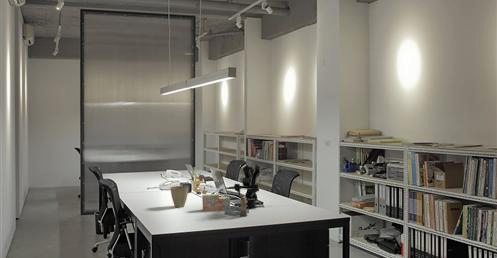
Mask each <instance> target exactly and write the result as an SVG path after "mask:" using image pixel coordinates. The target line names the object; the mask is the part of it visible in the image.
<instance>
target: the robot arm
mask: <svg viewBox="0 0 497 258" xmlns="http://www.w3.org/2000/svg"><path fill="white" fill-rule="evenodd" d="M242 173H243V176H244V177H242V182H241V183H242V185H240V183H235V184H234V185H233V188H234V191H236V192H237V194H238V197H240V198H241V189H245V190H246V192H245V196H244V197H246V209H251V210H252V209H257V208H258V207H257V206H256V201H258V195H257V193H258V192H260V186H259V184H257V181H258V178H259V177H260V174H261V173H262V169H261V166H260V165H258V163H256V162H251V163H250V165H247V164H246V165H245V166H244V167H243V168H242Z"/></svg>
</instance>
